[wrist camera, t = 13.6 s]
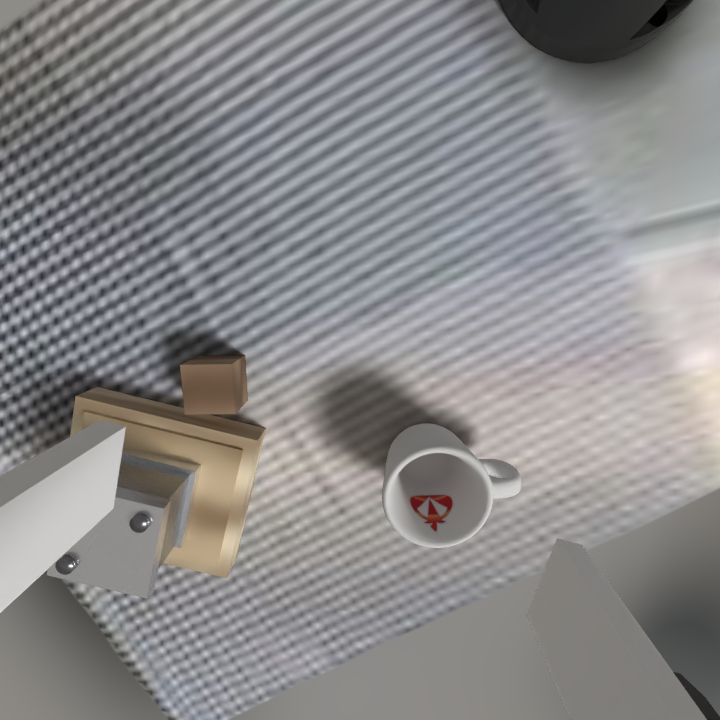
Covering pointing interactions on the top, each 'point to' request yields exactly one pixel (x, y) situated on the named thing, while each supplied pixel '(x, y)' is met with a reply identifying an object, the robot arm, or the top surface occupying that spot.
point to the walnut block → (214, 384)
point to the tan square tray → (197, 445)
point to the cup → (441, 486)
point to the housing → (135, 526)
